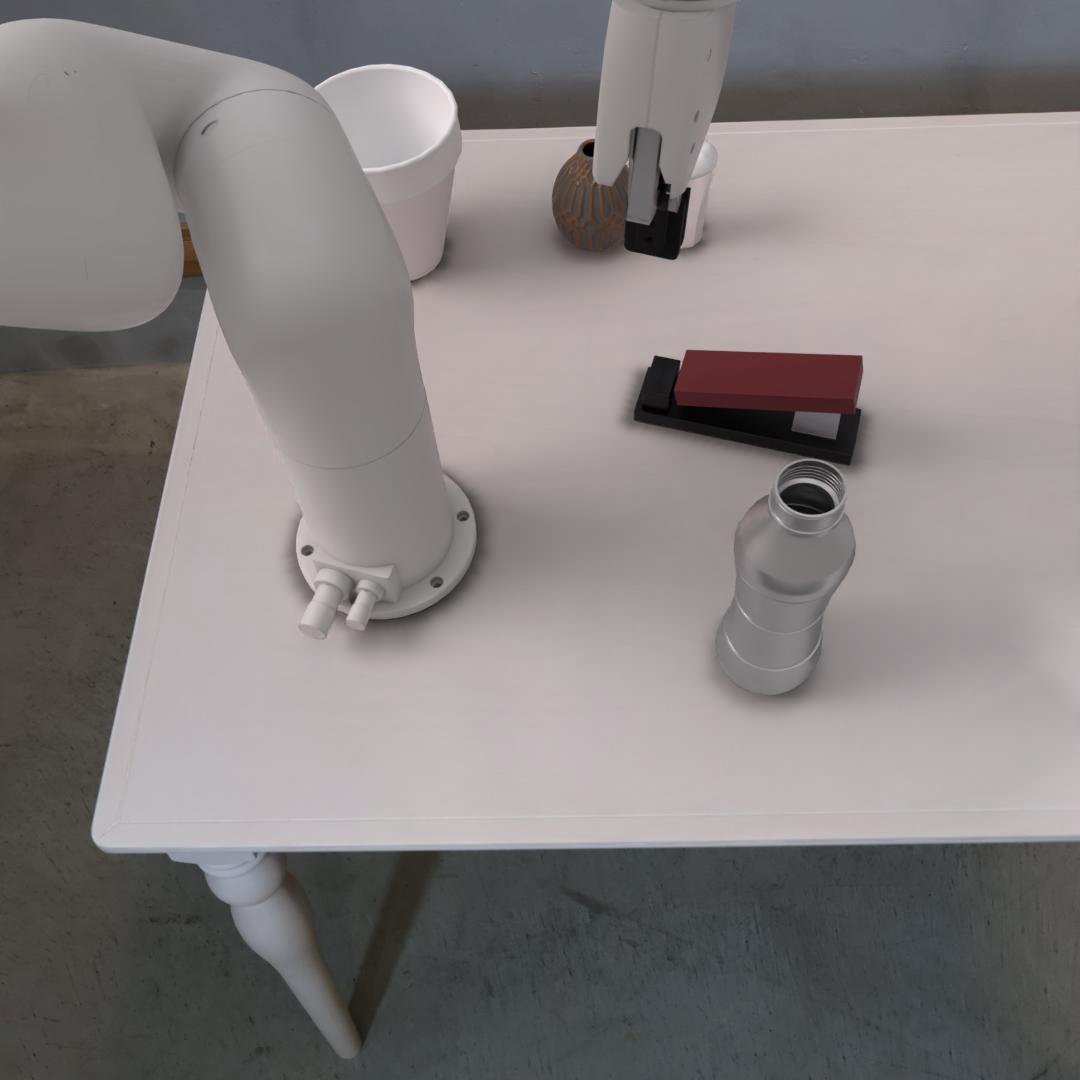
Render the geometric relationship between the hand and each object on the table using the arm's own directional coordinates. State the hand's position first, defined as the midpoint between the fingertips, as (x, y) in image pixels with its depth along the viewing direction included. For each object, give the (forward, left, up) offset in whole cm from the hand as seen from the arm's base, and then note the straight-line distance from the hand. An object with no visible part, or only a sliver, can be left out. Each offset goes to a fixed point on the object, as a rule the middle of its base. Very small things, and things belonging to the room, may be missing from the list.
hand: (653, 245), depth 65 cm
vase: (+21, +9, -20) cm, 31 cm away
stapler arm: (+5, -8, -16) cm, 19 cm away
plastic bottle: (-14, -12, -20) cm, 27 cm away
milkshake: (+23, +2, -20) cm, 31 cm away
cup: (+15, +24, -20) cm, 35 cm away
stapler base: (+5, -7, -20) cm, 22 cm away
